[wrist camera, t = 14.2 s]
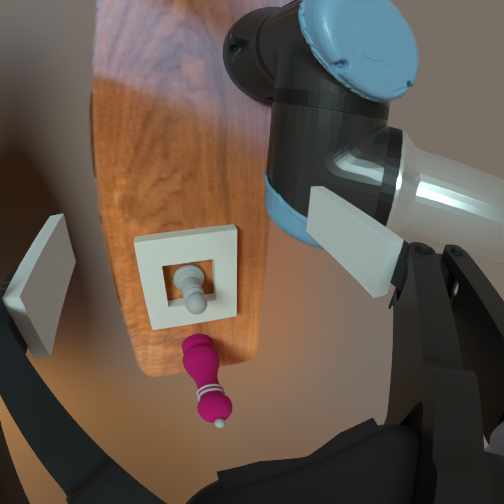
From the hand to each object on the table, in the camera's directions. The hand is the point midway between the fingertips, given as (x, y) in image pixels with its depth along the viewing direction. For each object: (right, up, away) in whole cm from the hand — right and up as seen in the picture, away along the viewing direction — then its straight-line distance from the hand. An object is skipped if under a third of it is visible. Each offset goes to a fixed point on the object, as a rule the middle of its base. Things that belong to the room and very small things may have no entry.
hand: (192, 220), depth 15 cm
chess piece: (-8, -6, +36) cm, 37 cm away
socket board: (-8, -6, +36) cm, 37 cm away
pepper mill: (-8, -21, +44) cm, 50 cm away
